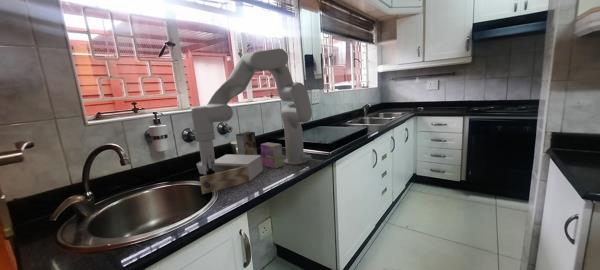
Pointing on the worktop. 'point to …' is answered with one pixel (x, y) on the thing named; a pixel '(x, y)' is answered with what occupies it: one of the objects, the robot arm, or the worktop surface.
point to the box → (272, 155)
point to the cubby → (239, 163)
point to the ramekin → (201, 168)
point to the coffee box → (246, 143)
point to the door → (224, 179)
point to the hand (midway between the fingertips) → (211, 179)
